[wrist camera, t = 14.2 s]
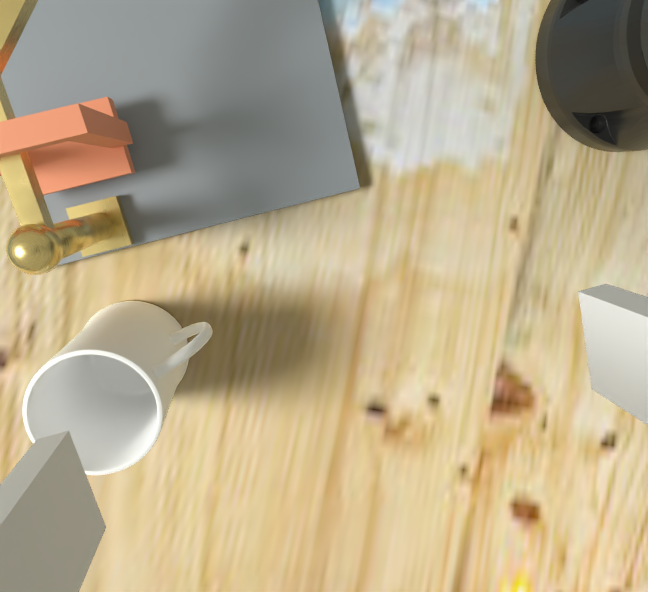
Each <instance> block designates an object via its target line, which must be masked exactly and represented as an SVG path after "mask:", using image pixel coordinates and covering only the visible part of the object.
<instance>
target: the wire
mask: <svg viewBox="0 0 648 592" xmlns="http://www.w3.org/2000/svg"><path fill="white" fill-rule="evenodd" d="M37 2H38V0H0V122H1V121H6V120H10V119H14V118H15V115H14V112H13V109H12V106H11V104H10V101H9V98H8V95H7V92H6V90H5V87H4V84H3V81H2V78H1V75H2V72H3V70H4V68H5V66H6V64H7V62H8V60H9V58H10V56H11V54H12V52H13V50H14V48H15V46H16V44H17V42H18V40H19V38H20V36H21V34H22V32H23V30H24V28H25V26H26V24H27V22H28V20H29V18H30V16H31V14H32V12H33V10H34V8H35V6H36V4H37ZM0 172H1V175H2V177H3V180H4V183H5V186H6V188H7V191H8V194H9V196H10V199H11V202H12V204H13V207H14V210H15V212H16V215H17V218H18V221H19V223H20V226H21V227H19V228H17V229H16V230H15V231H13V232H12V234H11V235H10V236H9V238H8V240H7V244H6V253H7V256H8V259H9V260H10V262H11V263H12V265H13V266H14V267H15V268H17V269H18V270H20V271H22V272H24V273H27V274H33V275H39V274H44V273H47V272H49V271H51V270H53V269H54V268H55V267H56V266H57V265H58V264H59V262H60V261H61V259H64V258H66V257H68V256H70V255H73V254H75V253H77V252H79V251H81V254H82V257H85V256H89V255H93V254H97V253H101V252H105V251H109V250H113V249H116V248H120V247H124V246H128V245H132V244H134V240H133V237H132V234H131V231H130V228H129V225H128V222H127V219H126V216H125V213H124V210H123V207H122V203H121V200H120V197H119V196H114V197H110V198H106V199H102V200H98V201H94V202H90V203H86V204H82V205H78V206H74V207H70V208H66V211H67V214H68V217H69V219H70V220H66V221H63V222H59V223H55V224H53V221H52V218H51V215H50V213H49V210H48V207H47V204H46V201H45V199H44V196H43V193H42V190H41V188H40V185H39V182H38V179H37V176H36V174H35V171H34V168H33V165H32V162H31V160H30V157H29V154H28V151H26V152H21V153H17V154H13V155H9V156H5V157H1V158H0Z"/></svg>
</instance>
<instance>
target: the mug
mask: <svg viewBox="0 0 648 592" xmlns="http://www.w3.org/2000/svg"><path fill="white" fill-rule="evenodd" d="M212 333H213V330H212V327H211V326H210V324H209V323H207V322H198V323H195V324H192V325H189V326H187V327H184V328H182V327H181V326H180V324H179V323H178V322H177V321H176V319H175V318H174V317H173V316H171V315H170V314H169V313H168V312H166V311H165V310H163V309H162V308H160V307H158V306H156V305H153V304H150V303H146V302H141V301H123V302H118V303H114V304H112V305H109V306H107V307H105V308H103V309H102V310H100V311H99V312H97V313H96V314H95V315H94V316H93V317H92V318H91V319H90V320H89V321H88V322H87V324H86V325H85V327H84V329H83V330H82V331H81V332H80V333H79V334H78V335H77V336H76V337H75V338H73V339H72V340H71V341H70V342H69V343H68V344H67V345H66V346H65V347H64V348H63V349H61V350H60V351H59V352H58V353H57V354H56V355H55V356H54V357H53V358H52V359H50V360H49V361H48V362H47V363H46V364H45V365H44V366H43V367H42V368H41V369H40V370H39V371H38V372H37V373H36V374H35V376H34V377H33V379H32V380H31V382H30V384H29V385H28V388H27V390H26V393H25V396H24V401H23V420H24V425H25V428H26V431H27V433H28V436H29V438H30V439H31V441H32V443H33V444H34V442H35V441H36V440H37V439H39V438H43V437H47V436H50V435H54V434H58V433H61V432H65V431H69V432H70V435H71V437H72V440H73V443H74V445H75V448H76V450H77V453H78V456H79V458H80V461H81V463H82V466H83V469H84V471H85V474H86V475H104V474H110V473H115V472H118V471H121V470H124V469H126V468H128V467H130V466H132V465H133V464H135V463H136V462H138V461H139V460H141V459H142V458H143V457H144V456H145V455H146V454H147V453H148V452H149V451H150V449H151V448H152V447H153V445H154V444H155V442H156V440H157V438H158V436H159V434H160V431H161V429H162V426H163V423H164V420H165V418H166V415H167V412H168V409H169V407H170V404H171V401H172V399H173V396H174V393H175V390H176V388H177V385H178V384H179V383H180V381H181V380H182V378H183V376H184V374H185V372H186V370H187V366H188V362H189V358H190V357H192V356H193V355H194V354H195V353H196V352H198V351H199V350H200V349H201V348H202V347H203V346H204V345H205V344H206V343H207V342H208V341H209V339H210V338H211V336H212ZM196 334H198V335H197V336H196V337H195V338H194V339H193V340H192V341H190V342H189V343H188V341H187V338H189V337H191V336H194V335H196Z"/></svg>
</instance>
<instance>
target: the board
mask: <svg viewBox="0 0 648 592" xmlns="http://www.w3.org/2000/svg"><path fill="white" fill-rule="evenodd" d="M1 78H2V81H3V84H4V87H5V90H6V92H7V95H8V98H9V101H10V104H11V106H12V109H13V112H14V115H15V118H18V117H22V116H27V115H31V114H35V113H39V112H43V111H48V110H52V109H56V108H60V107H64V106H69V105H73V104H77V103H83V102H87V101H91V100H95V99H99V98H104V97H109V98H111V99H113V102H114V105H115V108H116V112H117V115H118V118H119V119H120V120H123V121H125V122H127V125H128V128H129V131H130V134H131V137H132V141H133V143H132V144H128V145H127V146H128V150H129V153H130V156H131V159H132V162H133V165H134V169H135V172H136V173H132V174H128V175H124V176H120V177H116V178H112V179H108V180H104V181H100V182H96V183H92V184H88V185H84V186H80V187H76V188H71V189H67V190H63V191H59V192H55V193H51V194H47V195H43V196H44V199H45V201H46V204H47V207H48V210H49V213H50V215H51V218H52V221H53V224H55V223H59V222H63V221H66V220H70V219H69V217H68V214H67V211H66V208H70V207H74V206H78V205H82V204H86V203H90V202H94V201H98V200H102V199H106V198H110V197H114V196H119V197H120V200H121V203H122V207H123V210H124V213H125V216H126V219H127V222H128V225H129V228H130V231H131V234H132V237H133V240H134V244H132V245H128V246H124V247H120V248H116V249H113V250H109V251H105V252H101V253H97V254H93V255H89V256H85V257H82V254H81V251H79V252H77V253H75V254H73V255H70V256H68V257H66V258H64V259H61V261H60V262H59V264H58V265H61V264H65V263H69V262H73V261H77V260H81V259H85V258H88V257H92V256H96V255H100V254H104V253H108V252H112V251H116V250H120V249H124V248H128V247H132V246H135V245H139V244H143V243H147V242H151V241H155V240H159V239H163V238H167V237H171V236H175V235H179V234H183V233H186V232H190V231H194V230H198V229H202V228H206V227H210V226H214V225H218V224H222V223H226V222H230V221H234V220H237V219H241V218H245V217H249V216H253V215H257V214H261V213H265V212H269V211H273V210H277V209H281V208H285V207H288V206H292V205H296V204H300V203H304V202H308V201H312V200H316V199H320V198H324V197H328V196H332V195H336V194H339V193H343V192H347V191H351V190H355V189H359V188H360V185H359V181H358V177H357V172H356V168H355V163H354V159H353V154H352V150H351V145H350V141H349V136H348V132H347V127H346V123H345V118H344V114H343V109H342V105H341V101H340V96H339V92H338V87H337V83H336V78H335V74H334V69H333V65H332V60H331V56H330V51H329V47H328V42H327V38H326V34H325V29H324V25H323V20H322V16H321V11H320V7H319V2H318V0H38V2H37V4H36V6H35V8H34V10H33V12H32V14H31V16H30V18H29V20H28V22H27V24H26V26H25V28H24V30H23V32H22V34H21V36H20V38H19V40H18V42H17V44H16V46H15V48H14V50H13V52H12V54H11V56H10V58H9V60H8V62H7V64H6V66H5V68H4V70H3V72H2V75H1Z"/></svg>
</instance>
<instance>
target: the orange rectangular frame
mask: <svg viewBox="0 0 648 592" xmlns="http://www.w3.org/2000/svg"><path fill="white" fill-rule="evenodd" d="M132 143H133V141H132V137H131V134H130V131H129V128H128V125H127V122H125V121H123V120H120V119H119V118H118V115H117V112H116V108H115V105H114V102H113V99H111V98H109V97H104V98H99V99H95V100H91V101H87V102H83V103H77V104H73V105H69V106H64V107H60V108H56V109H52V110H48V111H43V112H39V113H35V114H31V115H27V116H22V117H18V118H14V119H10V120H6V121H1V122H0V158H1V157H5V156H9V155H13V154H17V153H21V152H26V151H28V154H29V157H30V160H31V162H32V165H33V168H34V171H35V174H36V176H37V179H38V182H39V185H40V188H41V190H42V193H43V195H47V194H51V193H55V192H59V191H63V190H67V189H71V188H76V187H80V186H84V185H88V184H92V183H96V182H100V181H104V180H108V179H112V178H116V177H120V176H124V175H128V174H132V173H136V172H135V169H134V165H133V162H132V159H131V156H130V153H129V150H128V146H127V145H128V144H132ZM0 176H1V172H0Z"/></svg>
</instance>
